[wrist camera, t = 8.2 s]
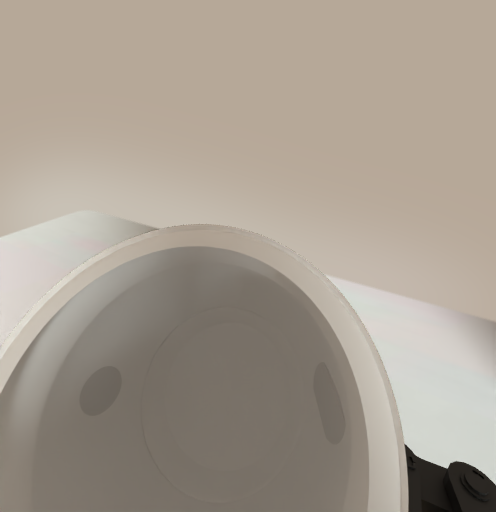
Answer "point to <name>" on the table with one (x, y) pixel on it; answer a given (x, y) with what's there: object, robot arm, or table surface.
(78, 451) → the jar
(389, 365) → the table surface
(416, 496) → the robot arm
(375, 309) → the table surface
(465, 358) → the table surface
